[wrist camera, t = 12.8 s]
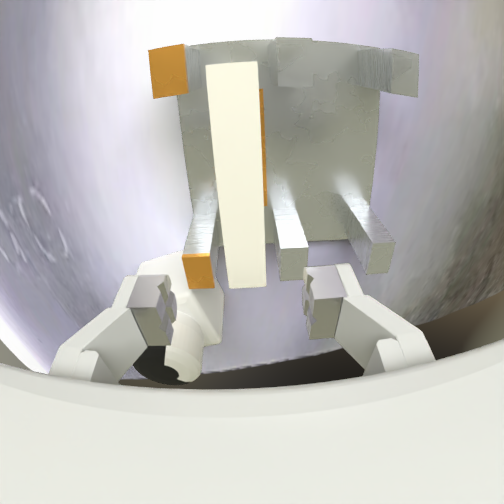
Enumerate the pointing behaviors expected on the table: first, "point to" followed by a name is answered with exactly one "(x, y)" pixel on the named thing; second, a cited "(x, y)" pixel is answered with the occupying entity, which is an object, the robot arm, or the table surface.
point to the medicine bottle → (182, 325)
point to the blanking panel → (238, 169)
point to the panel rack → (291, 144)
